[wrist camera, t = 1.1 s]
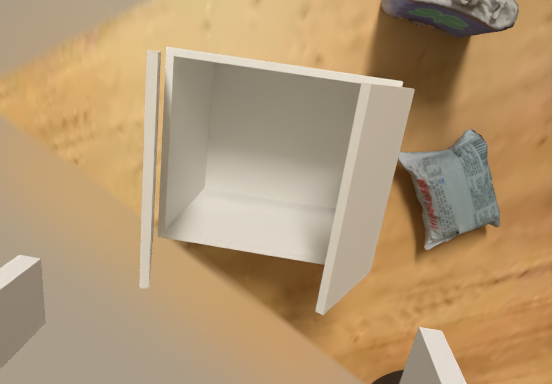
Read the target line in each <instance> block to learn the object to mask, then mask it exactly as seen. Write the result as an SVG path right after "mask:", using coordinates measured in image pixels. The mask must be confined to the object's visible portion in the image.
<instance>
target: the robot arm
mask: <svg viewBox="0 0 552 384" xmlns="http://www.w3.org/2000/svg"><path fill="white" fill-rule="evenodd" d="M44 324H45V309H44V297H43V282H42V268H41V259H39V258H34V257H28V256H22V255H19V256H17V257H16V258H14V259H13V260H12V261H10V262H8V263H7V264H6V265H4V266H3V267H1V268H0V369H1V368H2V367H3V366H4V365H5V364H6V363H7V362H8V360H10V359H11V358H12V357H13V356H14V355H15V354H16V352H18V351H19V350H20V349H21V348H22V347H23V346H24V344H26V342H28V340H29V339H30V338H31V337H32V336H33V335H34V334H35V333H36V332H37V331H38V330H39V329H40V328H41V327H42V326H43V325H44ZM373 384H467V383H466V381H465V379H464V377H463V375H462V373H461V371H460V369H459V366H458V364H457V362H456V360H455V358H454V356H453V354H452V352H451V349H450V347H449V345H448V343H447V341H446V339H445V337H444V334H443V332H442V331H440V330H434V329H429V328H423V327H419V328H418V331H417V334H416V337H415V340H414V343H413V346H412V349H411V351H410V354H409V357H408V360H407V363H406V366H405V369H404V370H401V371H397V372H393V373H390V374H388V375H385V376H383V377H381V378H380V379H378V380H376V381H375V382H374V383H373Z"/></svg>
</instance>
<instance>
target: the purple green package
mask: <svg viewBox="0 0 552 384" xmlns="http://www.w3.org/2000/svg"><path fill="white" fill-rule="evenodd" d="M382 9H383V11H384V12H385V13H386V14H388V15H390V16H392V17H394V18H396V19H398V18H404V19H406V20H407V19H408V20H409V21H411V23H415V24H416V25H420V26H424V25H425V26H429V25H430V26H432V27H433V29H434V30H435V29H436V30H437V29H440V30H443V31H444V32H445V34H449V35H451V36H453V37H456V38H462V37H465V36H470V35H479V34H484V33H491V32H498V31H503V30H506V29H508V28H511V27H513V26H514V23H515V21H516V19H517V16H518V4H517V3H516V2H515V0H382Z"/></svg>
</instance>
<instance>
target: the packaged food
mask: <svg viewBox="0 0 552 384" xmlns="http://www.w3.org/2000/svg"><path fill="white" fill-rule="evenodd" d="M398 161H399V163H400V164H401V165H402V166H403V167H404V169H405V170H406V171H408V172H409V174H410V175H411V178H412V182H413V185H414V189H415V193H416V196H417V198H418V201H419V202H420V204H421V206H422V208H423V210H422V219H423V223H424V228H425V244H424V248H425V249H426V250H429V249H431V248H432V247H434V246H435V245H438V244H440V243H442V242H443V241H446V242H448V241H449V240H451V239H452V238H453V237H455V236H456V235H459V234H463V233H466V232H468V231H472V230H475V229H477V228H480V227H482V226H485V225H487V224H490V225H493V226H495V227H499V226H500V213H499V208H498V204H497V200H496V196H495V192H494V188H493V184H492V177H491V173H490V169H489V166H488V162H487V144H486V142H485V141H484V139H483V137H482V136H481V135H480V134H477V133H476V132H475V131H474V130H472V129H470V130H469V129H468V130H467V131H465V132H464V134H463V136H462V137H461V138H460V139H459V140H458V141H457V142H456V143H455V144H454V145H453V146H451V147H450V148H448V149H446V150H444V151H434V152H413V153H409V152H399V157H398ZM438 241H439V242H438Z"/></svg>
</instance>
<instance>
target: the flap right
mask: <svg viewBox="0 0 552 384" xmlns="http://www.w3.org/2000/svg"><path fill="white" fill-rule="evenodd" d="M414 91H415V89H412V88H406V87H397V86H388V85H379V84H371V83H362V82H361V87H360V92H359V97H358V102H357V107H356V112H355V117H354V122H353V127H352V132H351V137H350V142H349V147H348V152H347V157H346V162H345V167H344V172H343V177H342V182H341V187H340V191H339V196H338V201H337V206H336V211H335V216H334V221H333V226H332V231H331V236H330V241H329V246H328V251H327V256H326V261H325V266H324V271H323V276H322V281H321V286H320V291H319V296H318V301H317V306H316V311H315V312H317V313H319V314H321V315H324V314H325V313H326V312H327V311H328V310H329V309H330V308H332V307H333V306H334V305H335V304H336V303H337V302H338V301H339V300H340V299H341V298H342V297H343V296H344V295H346V294H347V293H348V292H349V291H350V290H351V289H352V288H353V287H354V286H355V285H356V284H357V283H359V282H360V281H361V280H362V279H363V278H364V277H365V276H366V275H367V274H368V273H369V272H370V271H371V267H372V263H373V259H374V254H375V250H376V246H377V242H378V238H379V234H380V230H381V226H382V222H383V218H384V214H385V210H386V206H387V201H388V197H389V193H390V189H391V185H392V181H393V177H394V173H395V169H396V165H397V161H398V157H399V152H400V148H401V144H402V140H403V136H404V132H405V128H406V124H407V120H408V116H409V112H410V108H411V104H412V99H413V95H414Z"/></svg>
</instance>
